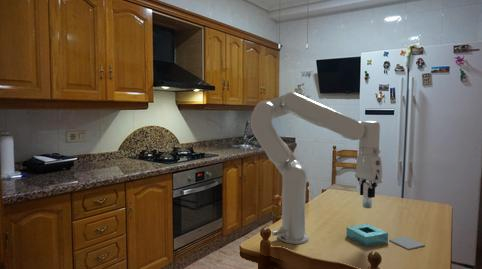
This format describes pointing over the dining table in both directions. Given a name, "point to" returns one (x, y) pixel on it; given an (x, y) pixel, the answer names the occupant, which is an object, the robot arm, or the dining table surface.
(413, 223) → the dining table surface
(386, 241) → the teal socket block
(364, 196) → the steel key rod
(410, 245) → the grey rubber mat
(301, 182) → the robot arm
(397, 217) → the dining table surface
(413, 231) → the dining table surface
